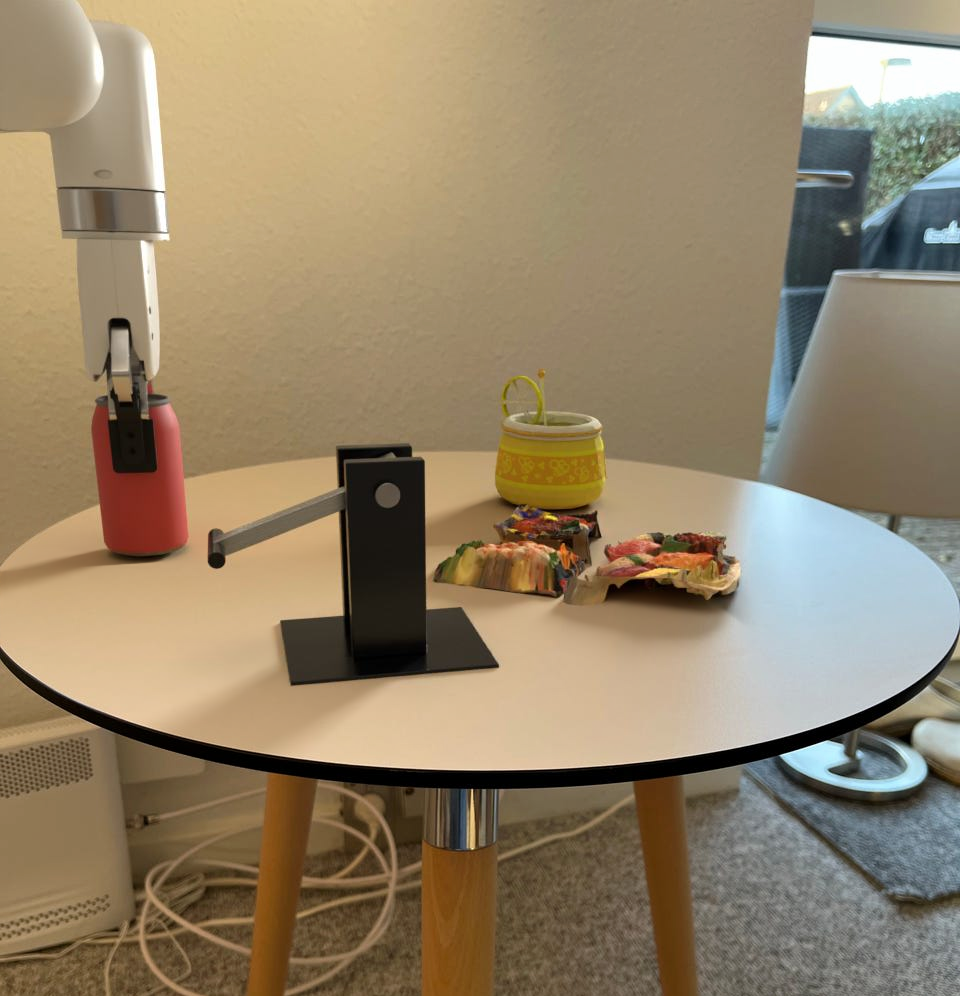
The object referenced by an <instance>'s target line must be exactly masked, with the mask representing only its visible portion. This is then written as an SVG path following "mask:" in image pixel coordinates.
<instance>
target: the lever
mask: <svg viewBox="0 0 960 996" xmlns="http://www.w3.org/2000/svg"><path fill="white" fill-rule="evenodd" d="M378 458H396V456H395V455H394V454H393V453H392V452H391V453H388V454H385V455H383V456H380V457H378ZM344 509H346V505H345V486H343V487H340V488H338V487H337V488H336V489H333V490H330V491H327V492H325V493H322V494H320V495H318V496H315V497H312V498H310V499H308V500H305V501H303V502H300V503H297V504H295V505H292V506H290V507H287V508H285V509H281V510H280V511H277V512H274V513H272V514H269V515H267V516H264V517H262V518H260V519H257V520H254V521H251V522H249V523H247V524H244V525H241V526H239V527H236V528H234V529H231V530H229V531H226V532H224V531H223V530H222V529H220V528H212V529H211V530H209V532H208V534H207V564H208V566H209V567H210V568H212V569H214V570H218V569H219V570H220V569H222V568H223V567H224V566H225V565H226V561H227V560H226V559H227V558H226V557H227V556H230V555H232V554H235V553H237V552H241V551H242V550H245V549H247V548H249V547H252V546H255V545H257V544H260V543H263V542H265V541H268V540H271V539H273V538H276V537H278V536H280V535H282V534H285V533H288V532H290V531H293V530H295V529H298V528H301V527H303V526H305V525H308V524H310V523H313V522H315V521H318V520H320V519H324V518H326V517H328V516H331V515H333V514H336V513H339V511H341V510H344Z"/></svg>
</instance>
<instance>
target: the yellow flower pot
mask: <svg viewBox="0 0 960 996" xmlns="http://www.w3.org/2000/svg"><path fill="white" fill-rule="evenodd" d="M545 376H546V371H545V370H544V369H543V368H540V369H538V372H537V377H538V378H539V383H540V389H539V386H538V384H537V383H536V382H535V381H533V380H532V379H531V378H529V377H528V376H526V375H517V376H513V377H511V378H510V379H508V381H506V383H505V385H504V386H503V388H502V392H501V396H500V404H501V410H502V413H503V416H504V417H505V419H504V421H502V422H501V423H500V428H501V432H502V434H501V437H500V440H499V445H498V450H497V455H496V460H495V461H496V462H495V471H494V486H495V489H496V491H497V493H498V495H499V496H500V497H501V498H502V499H504V500H505V501H508V502H509V503H511V504H514V505H516V506H519V505H521V504H530V506H531V507H534V508H537V509H538V510H545V511H546V510H548V511H549V510H568V509H569V510H571V509H572V510H573V509H576V508H580V507H583V506H586V505H590V504H593V503H594V502H595V501H597V500H598V499H600V497H601V496H602V494H603V492H604V490H605V487H606V480H607V479H608V475H607V464H606V463H607V462H606V461H607V460H606V452H605V450H606V449H605V440H604V439H603V438H602V436H601V434H602V433H603V432H602V431H603V429H604V426H603V425H602V423H601V422H600V421H599V420H598V419H597V418H596V417H593V416H590V415H587V414H583V413H577V412H576V413H574V412H569V411H568V412H567V411H547V410H546V409H547V407H546V396H545V395H546V394H545V393H546V392H545V380H544V379H545ZM517 380H522V381H525V385H524V389H523V392H522V395H521V392H520V390H519V387H518V385H517ZM510 386H511V389H512V390H513V393H514V394H515V396H516V398H517V400H515V399H507V392H508V390H509V388H510ZM531 388H532V389H533V391H534V392H535V396H536V401H525V399H526V397H527V396H528V393H529V392H530V390H531ZM509 404H518V406H517V408H516V410H515V412H514V414H512V415H510V413H509V411H508V407H507V405H509ZM526 405H530V406H535V407H537V410H536V411H529V410H528V409H527V407H526ZM523 406H524V407H523ZM521 410H522V412H521Z"/></svg>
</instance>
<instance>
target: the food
mask: <svg viewBox="0 0 960 996" xmlns="http://www.w3.org/2000/svg"><path fill="white" fill-rule="evenodd" d="M529 512H530V515H529ZM598 513H599V512H598V510H597V509H596V510H595V511H593V512H591V513H582V514H575V513H574V514H558V513H551V512H547V511H544V510H541V509H537V508H534V507H531V506H530V504H521V505H517V507H516V508H515V509H514V510H513V512H512V514H510V516H509V517H508V518H507V519H506V520H505V521H504V522H500V523H499V522H495V523H494V524H493V526H492V527H493V528H494V530H495V531H496V532H497V533H498V536H499V539H500V543H499V544H497V545H496V544H494V543H485V542H483V540H482V539H480V540H472V541H470V542H468V543H465V542H464V543H461V545H460V546H458V547H457V548H456V549H455V554H454V555H452V556H448V557H447V558H446V559H444V560H443V561H441V562H439V563H438V564H437V567H436V568H435V571H434V575H433V578H432V580H434V579H435V580H436V582H437V583H440V584H447V585H455V586H463V587H470V588H474V589H475V588H476V589H477V588H478V589H479V588H480V589H492V590H499V591H506V592H511V593H520V594H522V593H523V594H524V593H533V594H541V595H550V596H553V597H554V598H555V599H559V598H561V597H562V596H563V597H562V599H563V603H564V604H565V605H569V606H593V605H598V604H603V603H605V600H606V598H607V593H608V590H609V586H610V585H615V586H616V587H617V588H618V589H620V588H621V586H622V585H624V584H625V583H627V582H629V581H630V580H644V586H645V587H646V588H648V589H654V590H655V589H661V588H662V587H663V585H673V586H674V587H675V588H679V589H680V588H681V589H682V588H683V589H684V588H686V592H687V593H691V594H694V595H701V596H703V597H704V599H705V600H706V601H708V600H710V599H711V598H712V597H713V595H715V594H719V595H721V596H726V595H729V594H731V593H732V592H733V593H734V592H735V591H736V589H738V588H739V586H740V577H741V575H742V568H741V563H740V559H738V558H737V556H736V555H734V556H731V555H726V554H724V553H723V551H724V550H726V548H727V544H725V542H726V541H727V535H724V534H723V533H720V532H717V531H708V532H707V531H706V532H705V531H704V532H698V533H695V532H694V533H693V532H683V533H681V534H680V533H679V532H678V533H676V534H674V535H673V534H670V533H665V532H660V531H658V532H647V533H645V534H640V535H637V536H635V537H633V538H630V539H628V540H625V541H622V542H621V541H619V540H618V542H617V543H618V544H617V545H615V546H612V545H611V543H607V544H605V546H604V550H603V554H604V555H605V557H606V559H607V561H608V562H610V563H608V564H606V565H604V566H602V565H601V566H600V565H599V566H597V568H596V570H595V575H593V576H592V580H589V577H588V575H587V574H584V579H585V580H584V579H580V578H579V576H580V575H582V573H585V571H586V570H587V566H586V565H589V566H591V567H593V562H592V557H591V556H592V555H591V549H590V541H589V538H592V539H601V538H603V537H602V533H601V532H602V531H601V529H600V525H599V521H598ZM586 572H587V573H588V570H587V571H586Z"/></svg>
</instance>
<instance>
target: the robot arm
mask: <svg viewBox="0 0 960 996" xmlns="http://www.w3.org/2000/svg"><path fill="white" fill-rule="evenodd" d="M88 18H89V17H88V16H87V15H86V13H85V10H84V9H83V8H82V6H81V5H80V2H79V1H78V0H0V134H10V133H45V134H47V135H48V136H49V140H50V146H51V154H52V155H51V157H52V163H53V170H54V171H53V172H54V178H55V187H56V199H57V206H58V215H59V216H58V217H59V224H60V230H61V239H65V240H66V239H68V240H70V239H71V240H76V271H77V273H76V274H77V286H78V287H77V288H78V298H79V299H78V300H79V301H78V302H79V310H80V322H81V323H80V324H81V333H82V345H83V360H84V371H85V377H86V378H87V379H88V380H89V381H91V382H94V383H97V382H98V381H99V380H100V379H101V378H102V376H103V375H104V374H105V373H106V387H107V395H108V407H109V417H110V419H108V428H109V437H110V446H111V455H112V464H113V470H114V472H116V473H153V472H155V471H156V470H157V467H158V465H157V455H156V444H155V433H154V423H153V418H149V408H148V394H156V392H155V385H154V378H155V377H156V376H157V374H158V371H159V369H160V355H161V354H160V353H161V349H160V347H161V345H160V344H161V341H160V340H161V335H160V334H161V333H160V331H161V330H160V309H159V307H160V306H159V295H158V282H157V281H158V280H157V270H156V269H157V267H156V259H155V258H156V257H155V247H154V241H156V242H157V241H158V242H170V241H171V238H170V225H169V212H168V202H167V201H168V200H167V194H166V193H167V192H166V191H167V190H166V177H165V168H164V156H163V145H162V144H163V143H162V131H161V130H162V129H161V119H160V105H159V95H158V82H157V81H158V79H157V68H156V60H155V53H154V49H153V46H152V45H151V42H150V40H149V39H148V37H147V36H146V35H145V34H144V33H143V32H142V31H140V30H139V29H137V28H135V27H132V26H130V25H127V24H123V23H120V22H113V21H107V20H100V19H88ZM139 399H140V402H139Z"/></svg>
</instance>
